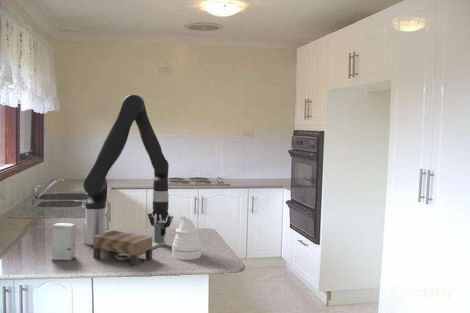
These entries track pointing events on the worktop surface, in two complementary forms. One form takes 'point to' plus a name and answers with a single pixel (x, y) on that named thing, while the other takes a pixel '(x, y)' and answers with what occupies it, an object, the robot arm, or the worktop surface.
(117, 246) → the walnut table
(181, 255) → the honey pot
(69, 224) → the skincare box
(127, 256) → the disc
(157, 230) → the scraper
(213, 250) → the worktop surface
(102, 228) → the robot arm
